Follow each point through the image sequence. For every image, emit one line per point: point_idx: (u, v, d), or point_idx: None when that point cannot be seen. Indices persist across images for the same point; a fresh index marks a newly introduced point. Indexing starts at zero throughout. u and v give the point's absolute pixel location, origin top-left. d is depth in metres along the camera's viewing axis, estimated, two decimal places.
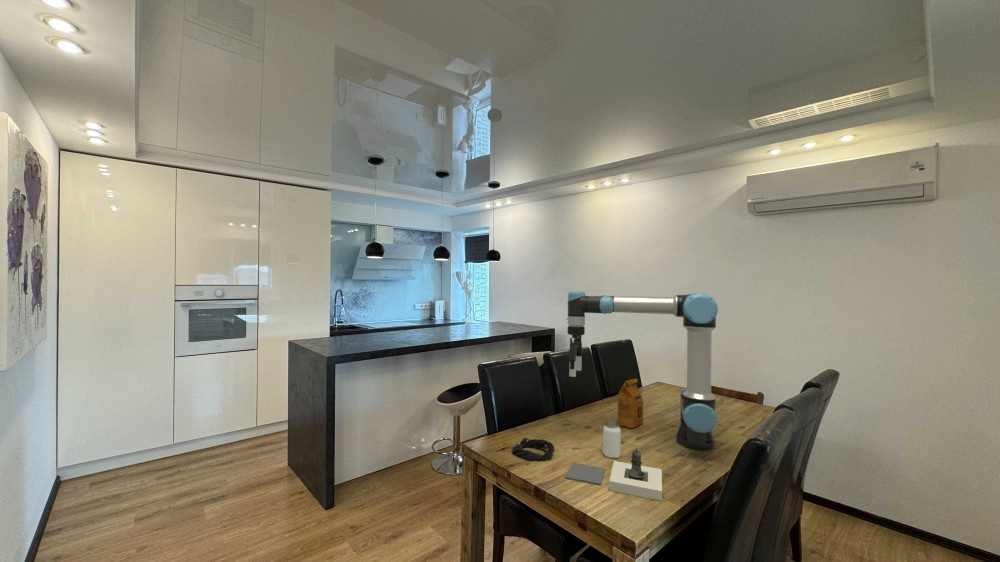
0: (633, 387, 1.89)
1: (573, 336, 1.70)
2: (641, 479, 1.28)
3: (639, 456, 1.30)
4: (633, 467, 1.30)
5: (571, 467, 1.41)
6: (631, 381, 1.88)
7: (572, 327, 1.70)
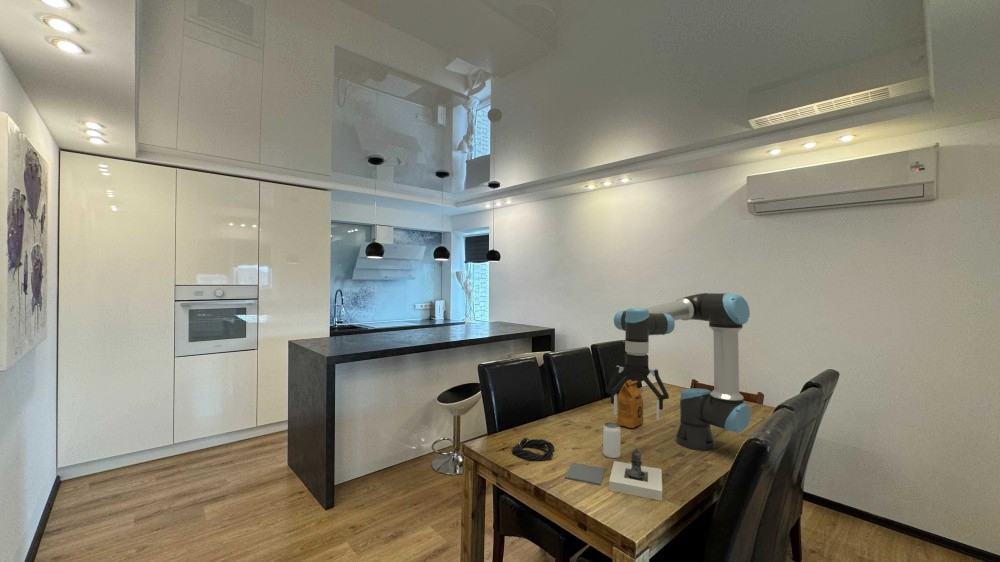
0: (633, 387, 1.89)
1: (625, 365, 1.33)
2: (641, 479, 1.28)
3: (639, 456, 1.30)
4: (633, 467, 1.30)
5: (571, 467, 1.41)
6: (631, 381, 1.88)
7: None
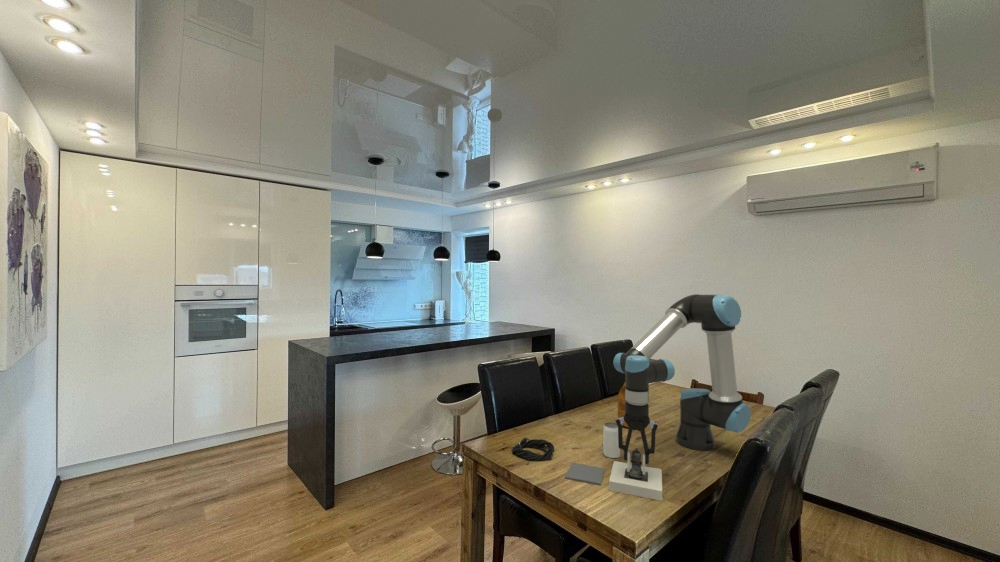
0: None
1: (625, 413, 1.33)
2: (641, 479, 1.28)
3: (639, 456, 1.30)
4: (633, 467, 1.30)
5: (571, 467, 1.41)
6: None
7: (626, 401, 1.33)
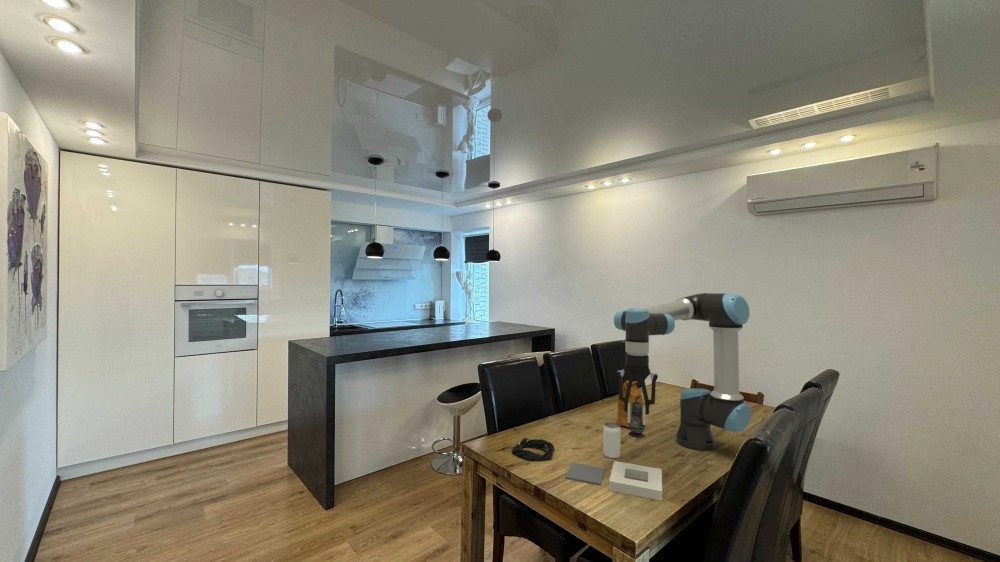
0: (633, 387, 1.89)
1: None
2: (641, 429, 1.29)
3: (639, 407, 1.30)
4: (633, 418, 1.30)
5: (571, 467, 1.41)
6: None
7: None
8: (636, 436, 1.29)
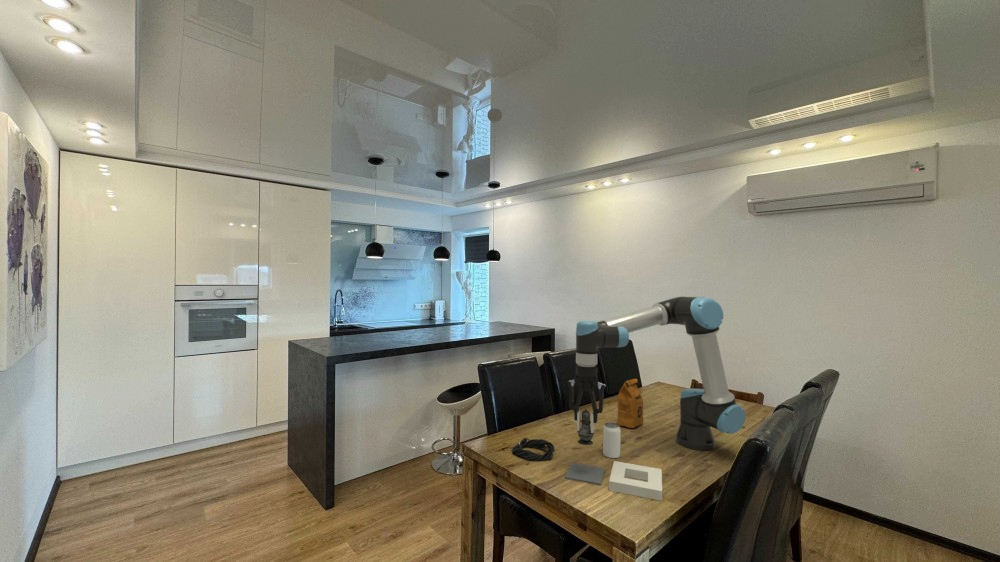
0: (633, 387, 1.89)
1: None
2: (589, 437, 1.35)
3: (588, 415, 1.36)
4: (582, 426, 1.36)
5: (571, 467, 1.41)
6: (631, 381, 1.88)
7: None
8: (584, 443, 1.35)
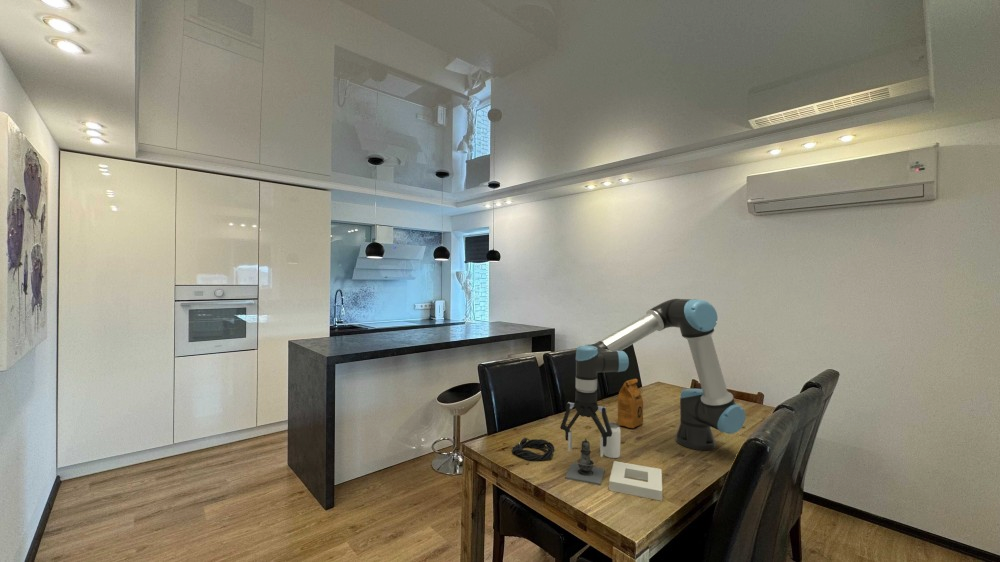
0: (633, 387, 1.89)
1: None
2: (589, 467, 1.35)
3: (588, 446, 1.36)
4: (582, 456, 1.36)
5: (571, 467, 1.41)
6: (631, 381, 1.88)
7: None
8: (584, 474, 1.35)
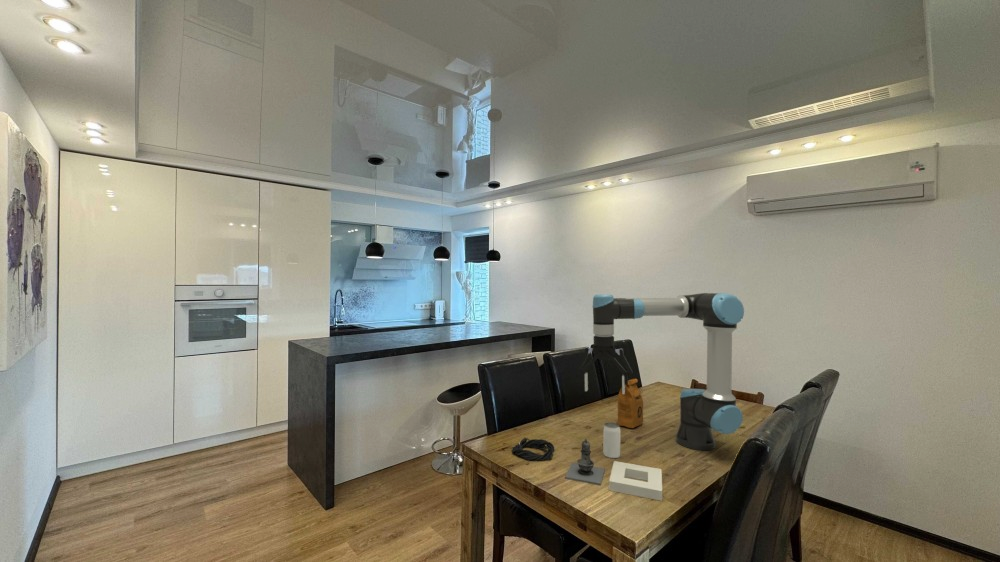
0: (633, 387, 1.89)
1: None
2: (589, 468, 1.35)
3: (588, 446, 1.36)
4: (582, 456, 1.36)
5: (571, 467, 1.41)
6: (631, 381, 1.88)
7: None
8: (584, 474, 1.35)
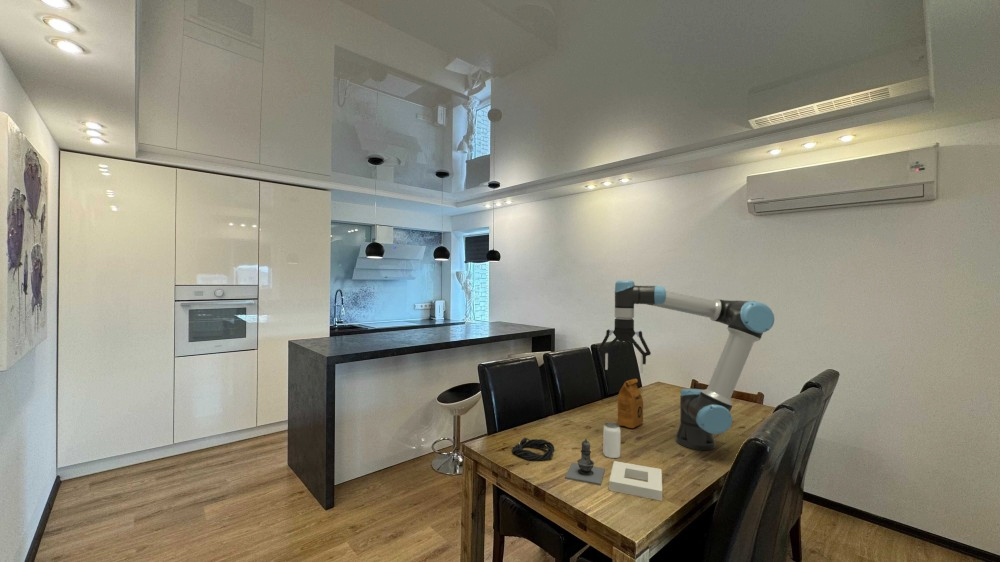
0: (633, 387, 1.89)
1: None
2: (589, 468, 1.35)
3: (588, 446, 1.36)
4: (582, 456, 1.36)
5: (571, 467, 1.41)
6: (631, 381, 1.88)
7: None
8: (584, 474, 1.35)
